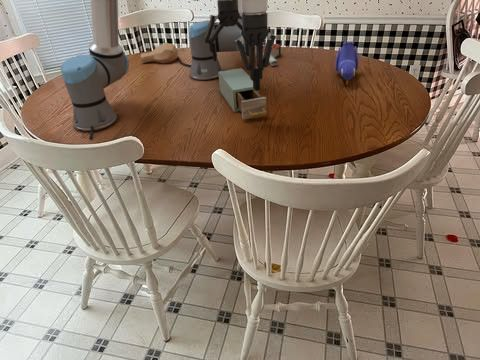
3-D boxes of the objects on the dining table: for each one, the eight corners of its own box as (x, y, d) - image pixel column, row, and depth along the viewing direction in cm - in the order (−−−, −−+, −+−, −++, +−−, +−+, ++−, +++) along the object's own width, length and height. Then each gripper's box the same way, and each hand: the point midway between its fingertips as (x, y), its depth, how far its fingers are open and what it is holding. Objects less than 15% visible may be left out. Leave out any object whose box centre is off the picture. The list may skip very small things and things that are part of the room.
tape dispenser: (274, 70, 173) (292, 55, 185) (274, 59, 169) (292, 45, 182) (243, 64, 180) (262, 50, 193) (243, 53, 177) (262, 40, 189)
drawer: (271, 121, 125) (271, 103, 121) (247, 125, 123) (246, 107, 119) (248, 94, 144) (248, 79, 140) (227, 98, 143) (226, 82, 139)
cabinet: (259, 107, 137) (258, 85, 131) (234, 111, 134) (232, 90, 129) (242, 87, 153) (241, 68, 148) (220, 91, 151) (218, 71, 146)
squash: (179, 63, 185) (174, 47, 178) (142, 70, 187) (136, 55, 180) (180, 53, 192) (175, 37, 186) (145, 60, 194) (139, 45, 188)
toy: (333, 78, 167) (335, 88, 145) (335, 40, 160) (337, 44, 138) (355, 78, 165) (360, 87, 142) (358, 39, 158) (364, 43, 136)
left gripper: (270, 7, 109) (270, 82, 122) (229, 12, 106) (234, 88, 120) (280, 12, 103) (279, 89, 117) (237, 17, 100) (241, 96, 114)
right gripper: (256, -7, 134) (257, 51, 147) (191, 0, 129) (198, 59, 141) (263, -4, 128) (264, 56, 141) (195, 4, 123) (202, 65, 136)
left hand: (256, 89), depth 118 cm, fingers closed
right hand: (231, 57), depth 141 cm, fingers open, 13 cm apart
